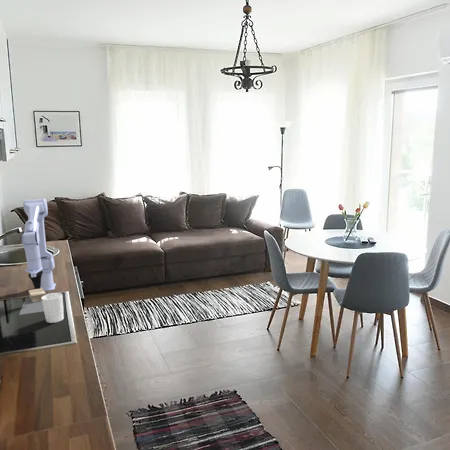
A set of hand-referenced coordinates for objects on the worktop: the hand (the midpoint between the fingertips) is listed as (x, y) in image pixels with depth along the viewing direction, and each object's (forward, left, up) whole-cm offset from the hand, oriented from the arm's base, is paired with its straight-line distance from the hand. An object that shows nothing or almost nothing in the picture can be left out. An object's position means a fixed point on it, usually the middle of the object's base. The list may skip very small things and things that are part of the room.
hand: (37, 288), depth 205 cm
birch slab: (-2, 0, -5) cm, 5 cm away
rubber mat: (+1, 0, -7) cm, 7 cm away
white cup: (+23, +8, -7) cm, 26 cm away
